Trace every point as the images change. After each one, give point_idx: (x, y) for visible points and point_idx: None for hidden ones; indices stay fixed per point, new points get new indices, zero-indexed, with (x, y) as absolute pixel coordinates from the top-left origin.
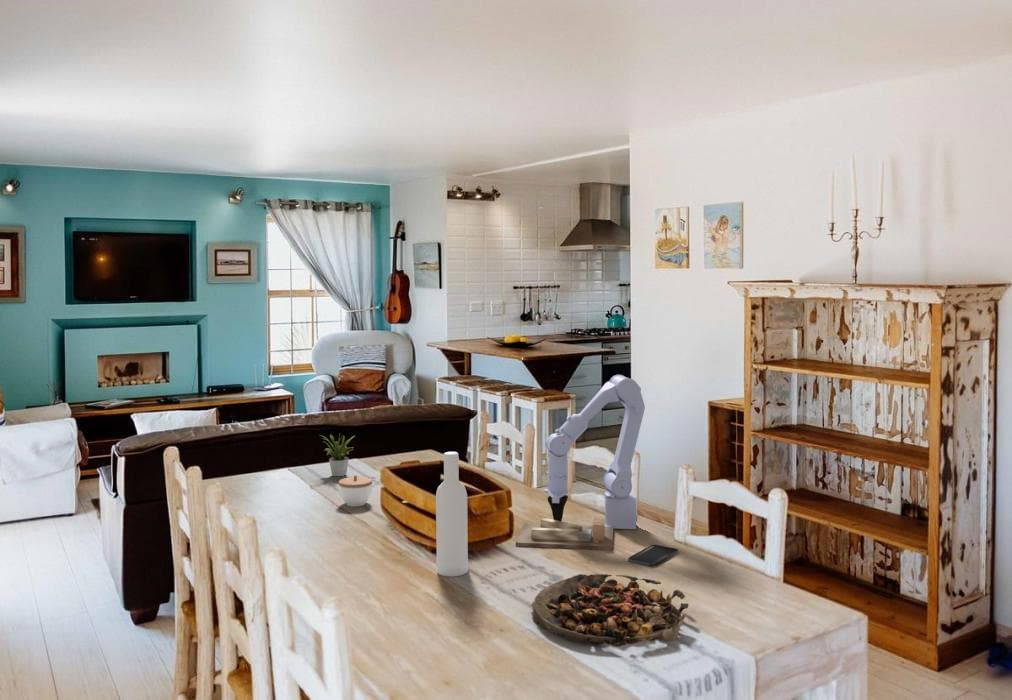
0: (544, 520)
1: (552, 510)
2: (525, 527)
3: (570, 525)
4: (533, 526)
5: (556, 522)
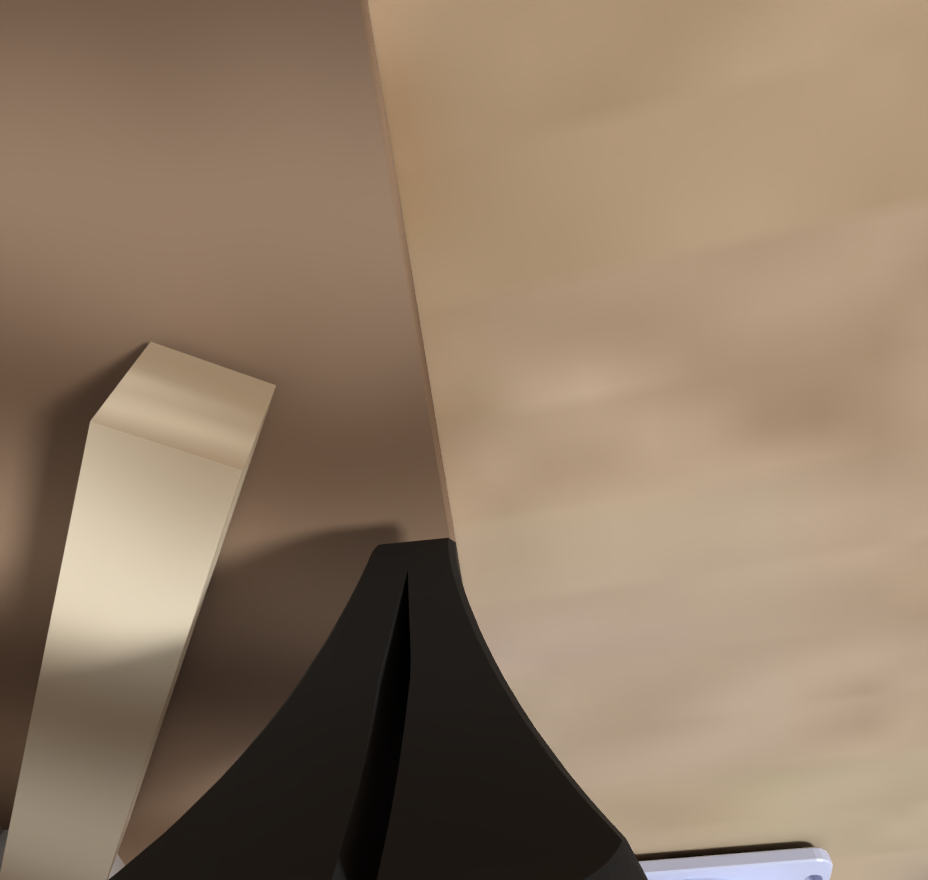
0: (75, 497)
1: (290, 703)
2: (52, 18)
3: (21, 840)
4: (199, 181)
5: (52, 687)
